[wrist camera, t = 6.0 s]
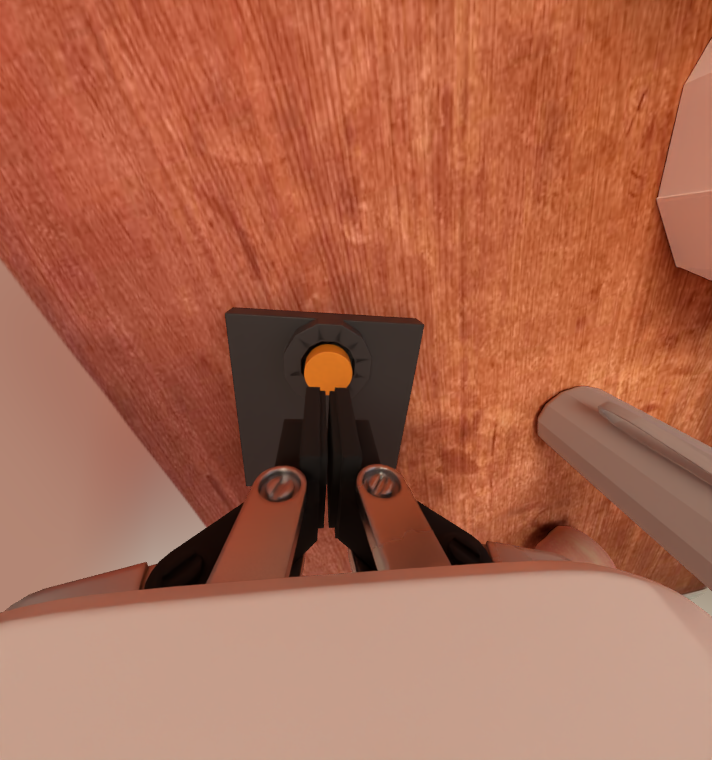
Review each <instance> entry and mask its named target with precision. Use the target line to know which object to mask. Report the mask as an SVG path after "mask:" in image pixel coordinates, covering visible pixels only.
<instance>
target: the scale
mask: <svg viewBox="0 0 712 760" xmlns="http://www.w3.org/2000/svg"><path fill="white" fill-rule="evenodd" d="M225 319H226V327H227V335H228V343H229V351H230V359H231V367H232V375H233V383H234V391H235V400H236V408H237V416H238V424H239V432H240V440H241V448H242V456H243V464H244V472H245V480H246V486H252V485H253V483H254V481H255V480H256V478H257V477H258V476H259V475H260V474H261V473H262V472H264V471H266V470H268V469H270V468H272V467H275V462H276V457H277V452H278V447H279V442H280V437H281V432H282V427H283V422H284V419H303V416H304V405H305V394H306V387H309V386H308V385H307V383H306V381H305V378H304V368H305V361H306V358H307V356H308V354H309V353H310V352H311V351H312V350H313V349H314V348H315V347H317V346H320V345H323V344H332V345H336V346H338V347H340V348H342V349H343V350H344V351H345V352H346V353H347V354H348V356H349V359H350V362H351V367H352V379H351V382H350V384H349V385H348V386H347V388H349V392H350V397H351V402H352V407H353V412H354V417H355V420H369V423H370V427H371V430H372V434H373V437H374V441H375V445H376V448H377V452H378V456H379V459H380V463H381V464H382V465H386V466H389V467H391V468H394V469H395V470H396V465H397V460H398V455H399V450H400V445H401V440H402V435H403V430H404V425H405V420H406V415H407V410H408V405H409V400H410V394H411V389H412V384H413V379H414V374H415V369H416V364H417V359H418V354H419V349H420V344H421V339H422V334H423V329H424V324H422V323H421V322H420V321H419V320H417V319H415V318H399V317H382V316H366V315H349V314H333V313H316V312H300V311H283V310H267V309H250V308H234V307H233V308H232V309H230V310H229V311H227V312H226V313H225ZM328 408H329V395H326V420H327V425H328ZM326 484H327V482H326Z"/></svg>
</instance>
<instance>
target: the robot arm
mask: <svg viewBox="0 0 712 760" xmlns="http://www.w3.org/2000/svg"><path fill="white" fill-rule="evenodd" d="M326 482H327V491H328V522H329V528H335V538H338V539H339V540H340V541H341V542H342V543H343V544H344V545H346V546H347V547H348V557H349V561H350V565H351V570H352V573H341V574H328V575H314V576H302V573H303V567H304V562H305V552H306V551H307V550H308V549H309V548H310V547H311V546H312V545H313V544H314V543H315V542H316V541H317V534H318V528H324V514H325V498H326ZM0 760H712V616H710V615H709V614H708V613H707V612H705V611H704V610H703V609H701V608H700V607H699V606H697V605H696V604H695V603H693V602H692V601H690V600H689V599H687V598H686V597H684V596H682V595H681V594H679V593H677V592H675V591H674V590H672V589H670V588H668V587H666V586H663V585H661V584H659V583H657V582H654V581H652V580H649V579H647V578H644V577H641V576H638V575H635V574H631V573H628V572H625V571H622V570H619V569H615V568H611V567H606V566H601V565H596V564H591V563H583V562H573V561H571V560H569V559H568V558H566V557H564V556H562V555H559V554H556V553H553V552H548V551H542V550H537V549H531V548H525V547H519V546H514V545H508V544H502V543H497V542H491V541H487V542H486V545H484V544H481V543H480V542H479V541H478V540H477V539H476V538H474V537H473V536H472V535H470V534H469V533H467V532H466V531H464V530H462V529H461V528H459V527H458V526H456V525H454V524H453V523H451V522H450V521H448V520H447V519H445V518H443V517H442V516H440V515H439V514H437V513H436V512H434V511H432V510H431V509H429V508H428V507H426V506H424V505H423V504H421V503H420V502H418V501H417V500H416V499H415V498H414V496H413V494H412V492H411V490H410V488H409V487H408V485H407V483H406V481H405V479H404V478H403V477H402V475H401V474H400V473H399V472H398V471H396V470H395V469H394V468H391V467H389V466H386V465H382V464H381V463H380V459H379V456H378V452H377V448H376V445H375V441H374V437H373V434H372V430H371V427H370V423H369V420H355V417H354V412H353V407H352V402H351V397H350V392H349V388H337V387H335V391H330V392H329V408H328V425H327V420H326V394H325V391H320V387H306V394H305V405H304V416H303V419H284V422H283V427H282V432H281V437H280V442H279V447H278V452H277V457H276V462H275V467H272V468H270V469H268V470H266V471H264V472H262V473H261V474H260V475H259V476H258V477H257V478H256V480H255V481H254V483H253V485H252V487H251V489H250V491H249V493H248V495H247V498H246V500H245V502H244V503H242V504H241V505H239V506H238V507H236V508H235V509H233V510H232V511H230V512H229V513H228V514H226V515H225V516H223V517H222V518H220V519H219V520H217V521H216V522H214V523H213V524H211V525H210V526H208V527H207V528H205V529H204V530H203V531H201V532H200V533H198V534H197V535H195V536H194V537H192V538H191V539H189V540H188V541H186V542H185V543H183V544H182V545H181V546H179V547H178V548H176V549H175V550H173V551H172V552H170V553H169V554H168V555H167V556H165V557H164V558H163V559H162V560H161V561H159V563H158V564H155V565H151V566H148V565H147V562H144V563H141V564H137V565H133V566H129V567H126V568H122V569H118V570H114V571H110V572H107V573H103V574H99V575H95V576H91V577H87V578H83V579H80V580H76V581H72V582H69V583H65V584H61V585H57V586H53V587H49V588H46V589H43V590H40V591H38V592H35V593H32V594H30V595H28V596H26V597H24V598H23V599H21V600H20V601H18V602H16V603H15V604H13V605H11V606H10V607H9V608H8V609H7V610H5V611H4V612H1V613H0Z"/></svg>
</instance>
